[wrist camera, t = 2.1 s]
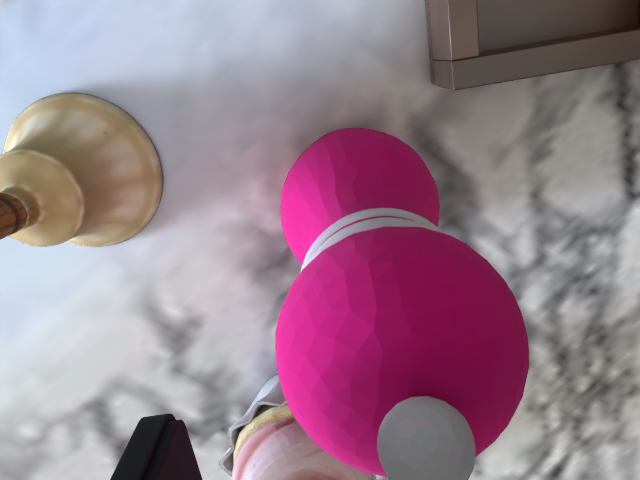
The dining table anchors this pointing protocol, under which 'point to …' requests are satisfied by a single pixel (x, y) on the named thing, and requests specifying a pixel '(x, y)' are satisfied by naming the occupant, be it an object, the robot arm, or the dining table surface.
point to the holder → (526, 38)
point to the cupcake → (278, 445)
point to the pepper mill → (391, 317)
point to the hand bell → (77, 174)
